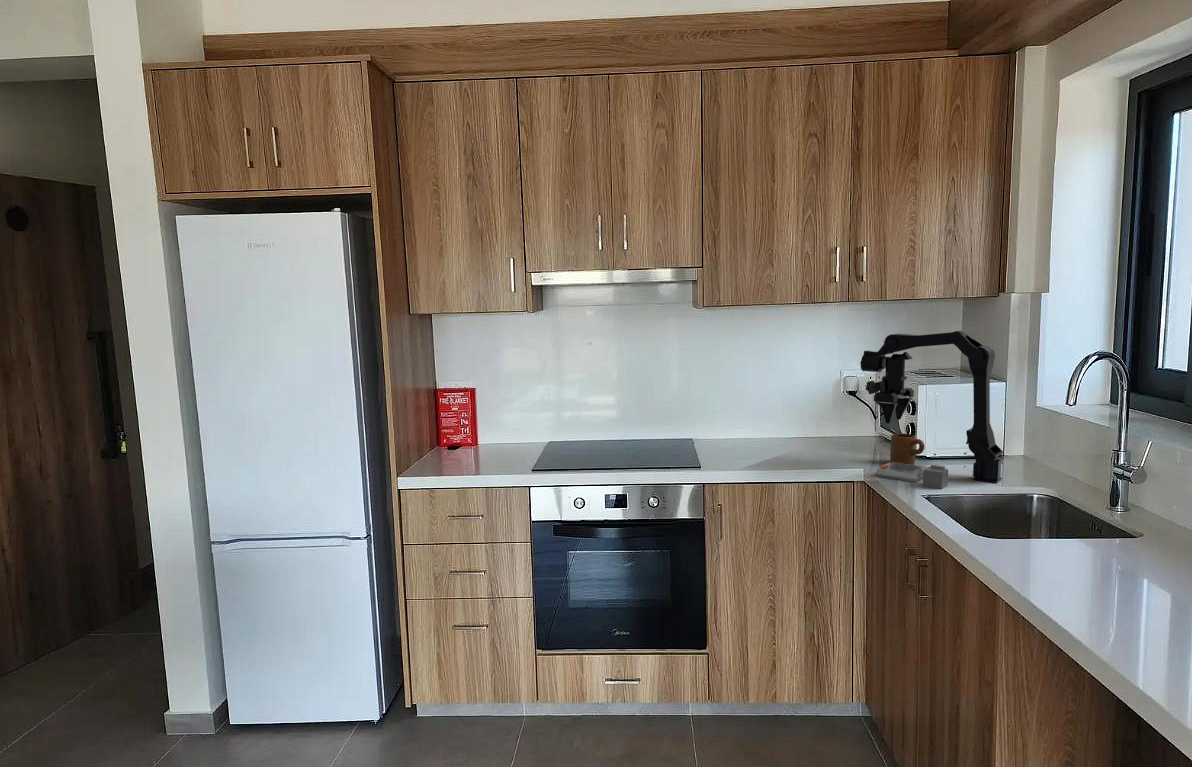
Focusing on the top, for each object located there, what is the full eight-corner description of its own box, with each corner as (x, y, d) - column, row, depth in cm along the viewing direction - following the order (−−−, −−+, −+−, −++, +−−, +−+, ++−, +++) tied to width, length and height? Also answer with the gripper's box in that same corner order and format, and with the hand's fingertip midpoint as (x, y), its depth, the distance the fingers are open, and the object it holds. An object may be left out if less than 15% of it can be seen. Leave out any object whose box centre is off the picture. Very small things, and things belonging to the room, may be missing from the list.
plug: (947, 486, 215) (948, 466, 215) (941, 489, 212) (942, 469, 211) (928, 483, 219) (929, 463, 218) (922, 486, 215) (923, 467, 214)
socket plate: (930, 474, 228) (930, 465, 228) (916, 482, 220) (917, 472, 219) (891, 468, 236) (891, 459, 236) (876, 476, 228) (876, 466, 227)
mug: (931, 467, 238) (932, 438, 237) (914, 470, 235) (915, 440, 234) (901, 460, 249) (902, 432, 248) (884, 462, 245) (885, 434, 244)
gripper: (881, 369, 249) (879, 415, 251) (858, 374, 235) (856, 422, 237) (915, 371, 241) (913, 418, 243) (893, 376, 228) (892, 426, 230)
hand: (893, 421), depth 238 cm, fingers open, 9 cm apart
